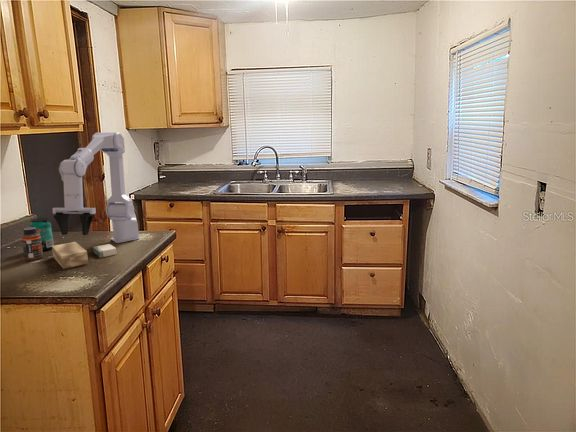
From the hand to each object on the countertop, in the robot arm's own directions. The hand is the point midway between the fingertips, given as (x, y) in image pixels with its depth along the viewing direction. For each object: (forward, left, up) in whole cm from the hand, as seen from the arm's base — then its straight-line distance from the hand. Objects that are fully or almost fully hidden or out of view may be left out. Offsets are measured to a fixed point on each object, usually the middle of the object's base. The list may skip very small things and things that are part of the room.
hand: (75, 234), depth 149 cm
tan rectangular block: (+1, -7, -11) cm, 13 cm away
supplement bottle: (+11, -19, -11) cm, 24 cm away
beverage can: (+6, -29, -11) cm, 31 cm away
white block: (-11, -7, -11) cm, 17 cm away
